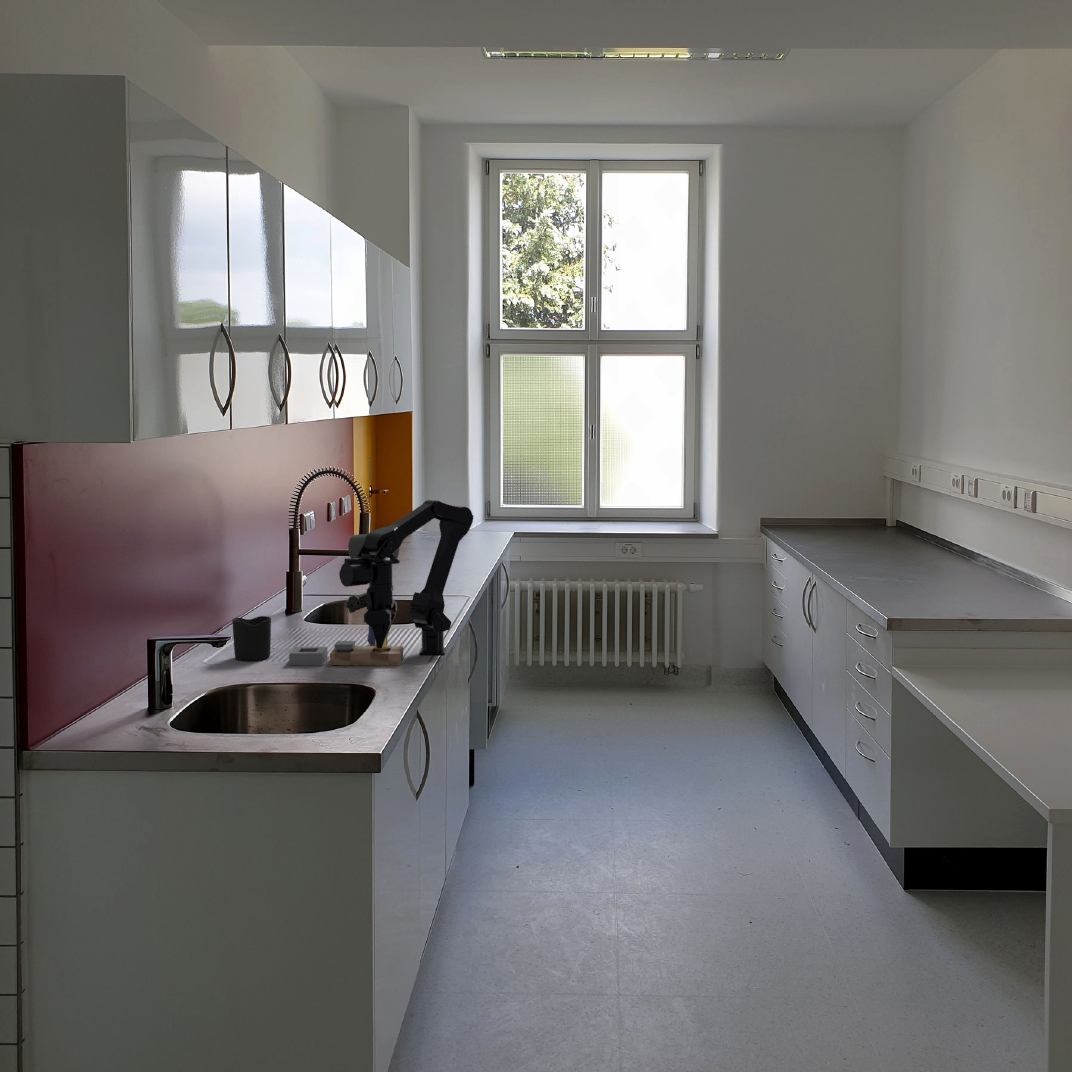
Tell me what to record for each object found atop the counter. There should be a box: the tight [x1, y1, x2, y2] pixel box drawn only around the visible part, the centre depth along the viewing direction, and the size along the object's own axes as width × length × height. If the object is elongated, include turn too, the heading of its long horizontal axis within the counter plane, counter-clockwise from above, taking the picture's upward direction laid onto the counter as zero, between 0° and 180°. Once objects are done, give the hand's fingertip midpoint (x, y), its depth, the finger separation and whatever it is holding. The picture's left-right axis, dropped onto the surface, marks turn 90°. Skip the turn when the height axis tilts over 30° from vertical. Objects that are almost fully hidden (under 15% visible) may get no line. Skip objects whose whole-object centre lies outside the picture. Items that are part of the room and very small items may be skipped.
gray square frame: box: [288, 646, 329, 666], centre depth 264 cm, size 8×8×3 cm
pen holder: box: [231, 615, 272, 662], centre depth 268 cm, size 9×9×10 cm
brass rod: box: [375, 635, 388, 652], centre depth 264 cm, size 3×3×8 cm
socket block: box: [329, 645, 404, 667], centre depth 264 cm, size 9×17×3 cm, turn 92°
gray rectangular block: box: [334, 640, 356, 651], centre depth 264 cm, size 4×4×5 cm
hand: (381, 645), depth 264 cm, fingers open, 7 cm apart
